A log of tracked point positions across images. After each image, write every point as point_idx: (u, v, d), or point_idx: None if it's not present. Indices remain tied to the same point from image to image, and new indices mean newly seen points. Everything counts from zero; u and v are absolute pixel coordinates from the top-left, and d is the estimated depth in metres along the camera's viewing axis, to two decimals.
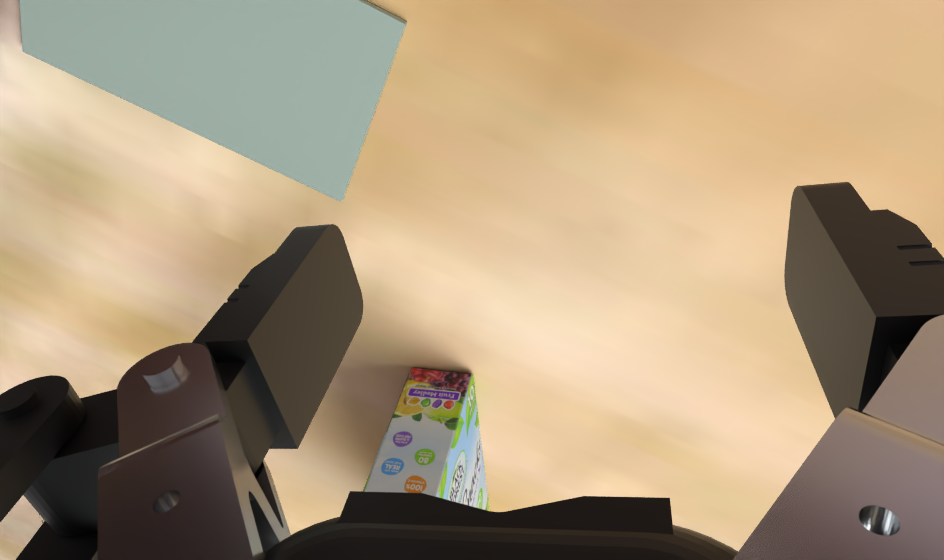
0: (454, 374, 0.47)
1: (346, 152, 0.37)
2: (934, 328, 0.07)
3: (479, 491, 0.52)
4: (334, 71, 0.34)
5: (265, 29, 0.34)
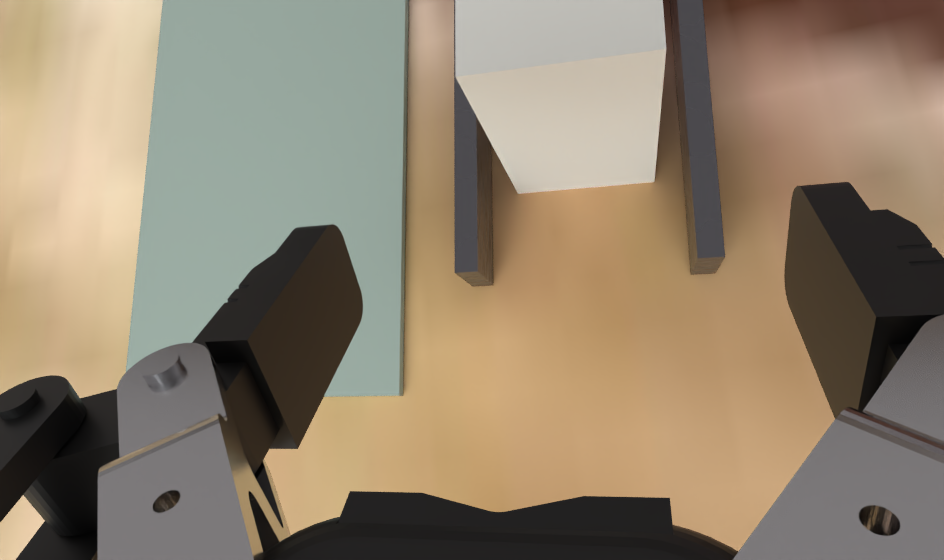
0: None
1: None
2: (934, 328, 0.07)
3: None
4: None
5: None
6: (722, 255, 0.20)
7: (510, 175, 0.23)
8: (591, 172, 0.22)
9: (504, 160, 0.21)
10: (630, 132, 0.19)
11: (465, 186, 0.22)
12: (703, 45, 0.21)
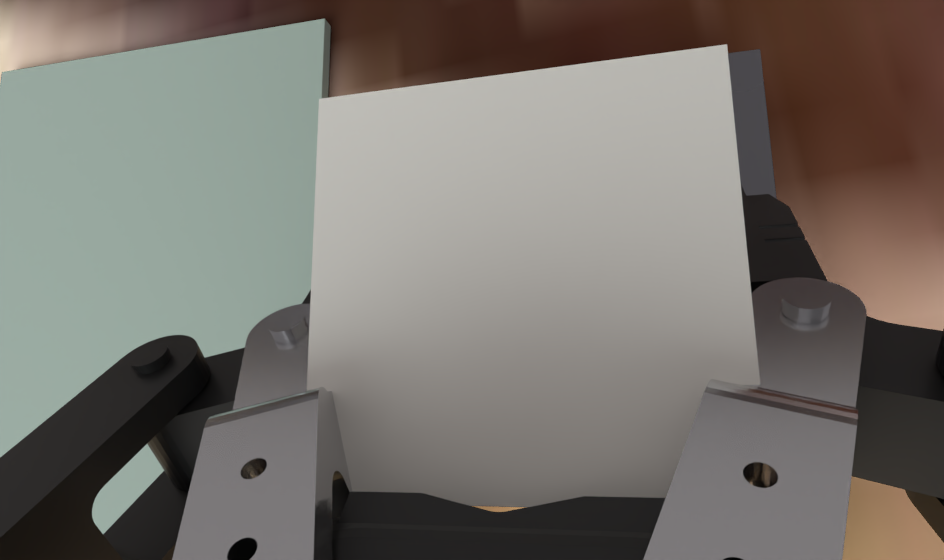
0: None
1: None
2: (759, 297, 0.08)
3: None
4: None
5: None
6: None
7: None
8: None
9: None
10: None
11: None
12: None
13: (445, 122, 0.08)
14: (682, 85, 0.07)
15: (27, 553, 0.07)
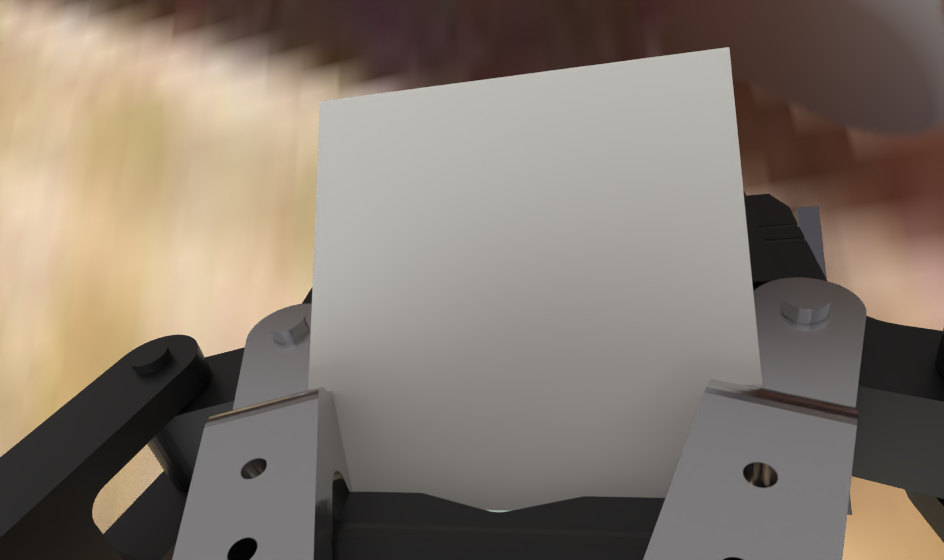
0: None
1: None
2: (758, 297, 0.08)
3: None
4: None
5: None
6: None
7: None
8: None
9: None
10: None
11: None
12: None
13: (447, 125, 0.08)
14: (684, 88, 0.07)
15: (27, 553, 0.07)
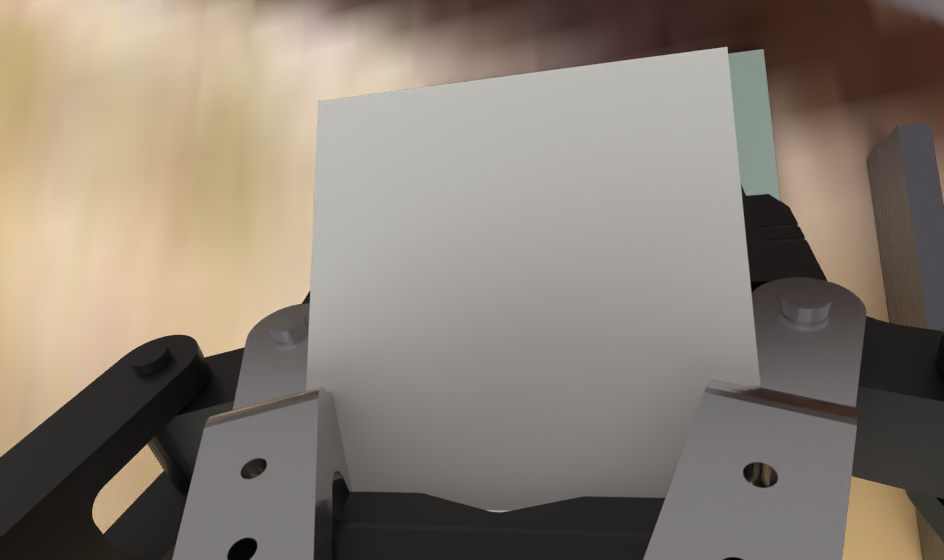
0: None
1: None
2: (758, 297, 0.08)
3: None
4: None
5: None
6: None
7: None
8: None
9: None
10: None
11: None
12: None
13: (445, 124, 0.08)
14: (682, 87, 0.07)
15: (27, 553, 0.07)
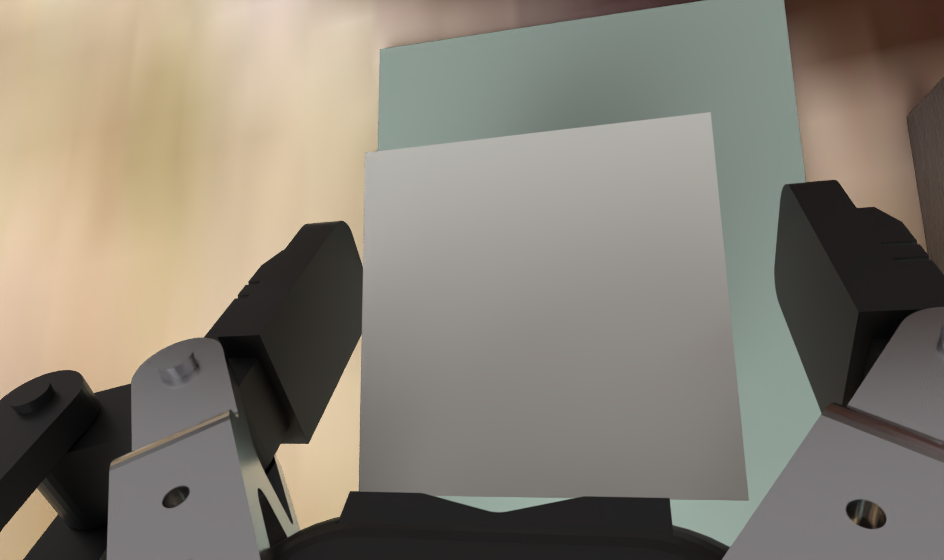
0: None
1: None
2: (914, 323, 0.07)
3: None
4: None
5: None
6: None
7: None
8: None
9: None
10: None
11: None
12: None
13: (474, 174, 0.09)
14: (673, 146, 0.09)
15: None
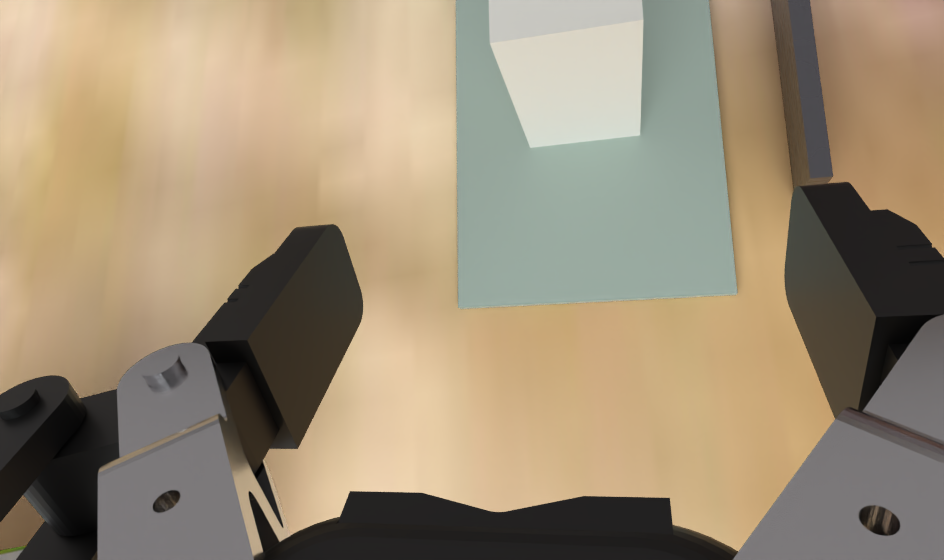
0: None
1: (533, 288, 0.29)
2: (934, 328, 0.07)
3: None
4: (631, 239, 0.28)
5: (634, 151, 0.29)
6: None
7: (525, 130, 0.28)
8: (589, 126, 0.28)
9: (521, 116, 0.27)
10: (619, 89, 0.25)
11: (812, 104, 0.25)
12: None
13: None
14: None
15: None
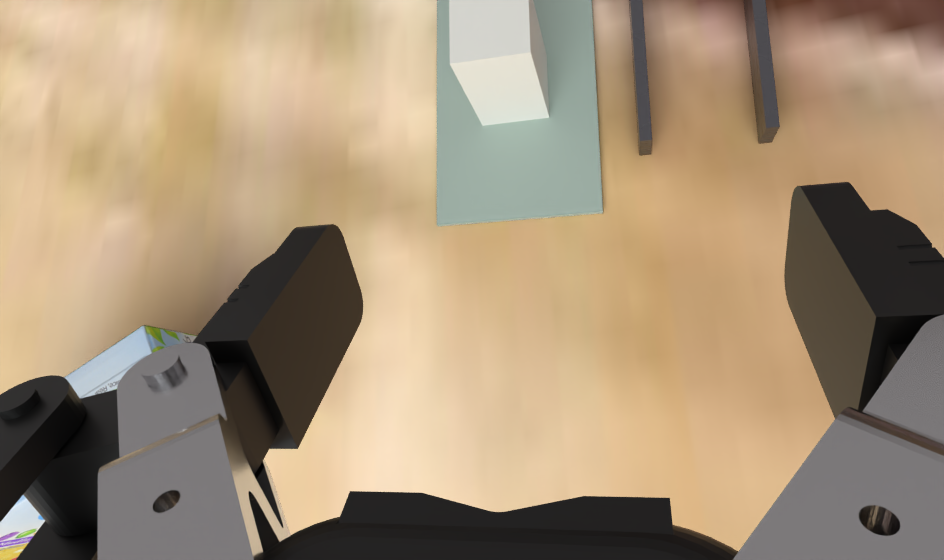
0: None
1: (483, 212, 0.47)
2: (934, 328, 0.07)
3: None
4: (542, 180, 0.46)
5: (545, 127, 0.47)
6: (778, 126, 0.41)
7: (477, 114, 0.46)
8: (516, 111, 0.46)
9: (473, 105, 0.45)
10: (528, 89, 0.43)
11: (642, 98, 0.43)
12: (766, 25, 0.42)
13: None
14: None
15: None
